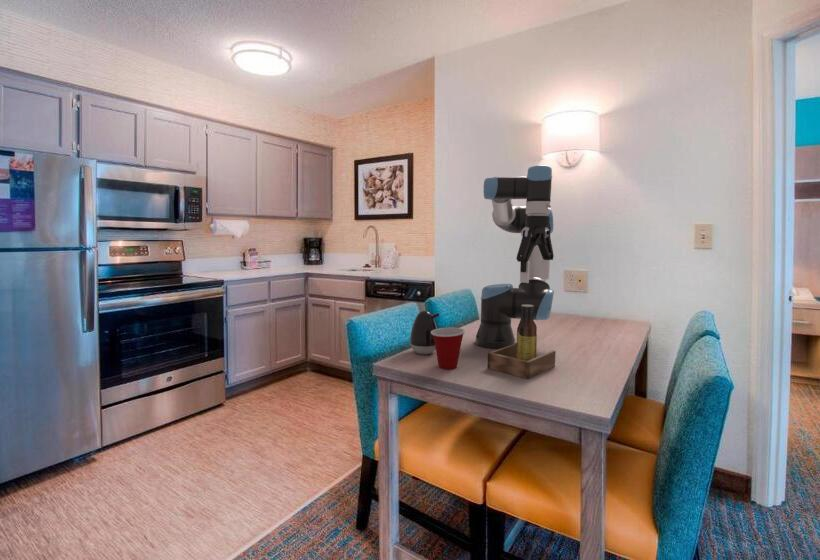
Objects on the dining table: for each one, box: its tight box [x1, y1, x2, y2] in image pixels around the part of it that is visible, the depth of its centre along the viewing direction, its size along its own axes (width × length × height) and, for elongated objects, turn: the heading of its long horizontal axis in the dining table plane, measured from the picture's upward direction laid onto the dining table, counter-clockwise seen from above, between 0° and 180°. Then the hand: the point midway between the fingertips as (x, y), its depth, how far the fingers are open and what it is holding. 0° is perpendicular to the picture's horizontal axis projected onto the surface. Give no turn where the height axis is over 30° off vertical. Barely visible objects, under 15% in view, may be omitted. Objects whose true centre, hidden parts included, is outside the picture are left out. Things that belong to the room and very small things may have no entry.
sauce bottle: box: [516, 304, 538, 361], centre depth 136 cm, size 6×6×20 cm
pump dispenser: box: [409, 310, 440, 355], centre depth 149 cm, size 10×10×15 cm
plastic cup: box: [431, 326, 466, 370], centre depth 133 cm, size 11×11×12 cm
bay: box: [486, 342, 556, 380], centre depth 134 cm, size 14×18×5 cm
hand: (534, 280), depth 138 cm, fingers open, 13 cm apart
